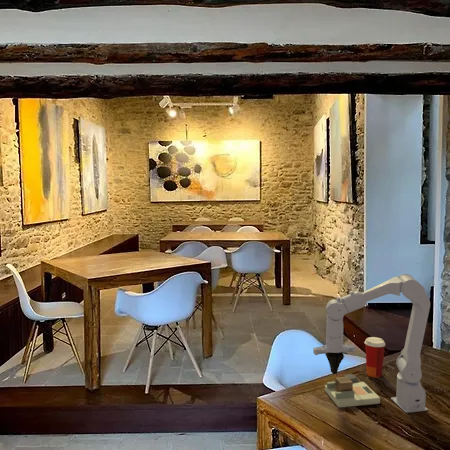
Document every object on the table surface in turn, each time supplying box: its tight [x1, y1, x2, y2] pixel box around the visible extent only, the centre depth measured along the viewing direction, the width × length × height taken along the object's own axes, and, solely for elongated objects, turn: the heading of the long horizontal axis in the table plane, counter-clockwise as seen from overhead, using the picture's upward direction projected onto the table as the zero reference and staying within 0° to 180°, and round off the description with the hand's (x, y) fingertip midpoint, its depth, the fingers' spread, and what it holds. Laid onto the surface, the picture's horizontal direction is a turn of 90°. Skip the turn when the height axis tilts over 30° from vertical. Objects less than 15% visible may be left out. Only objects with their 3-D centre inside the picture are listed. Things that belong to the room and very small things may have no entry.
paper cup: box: [363, 336, 386, 379], centre depth 171 cm, size 8×8×14 cm
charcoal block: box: [343, 373, 358, 383], centre depth 163 cm, size 4×4×4 cm
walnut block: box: [334, 376, 353, 392], centre depth 153 cm, size 4×4×4 cm
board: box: [324, 381, 381, 408], centre depth 154 cm, size 12×15×4 cm
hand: (333, 372), depth 152 cm, fingers closed
